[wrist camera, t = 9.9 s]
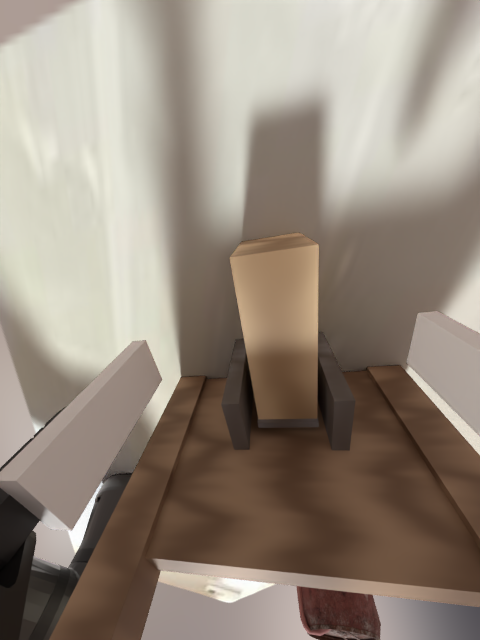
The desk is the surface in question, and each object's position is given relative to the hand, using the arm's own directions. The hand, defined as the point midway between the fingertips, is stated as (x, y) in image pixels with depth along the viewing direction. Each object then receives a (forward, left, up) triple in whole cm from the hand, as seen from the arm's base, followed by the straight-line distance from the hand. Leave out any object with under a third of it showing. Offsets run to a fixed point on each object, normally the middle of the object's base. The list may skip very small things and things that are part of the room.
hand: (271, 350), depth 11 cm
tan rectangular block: (+1, -2, -9) cm, 9 cm away
